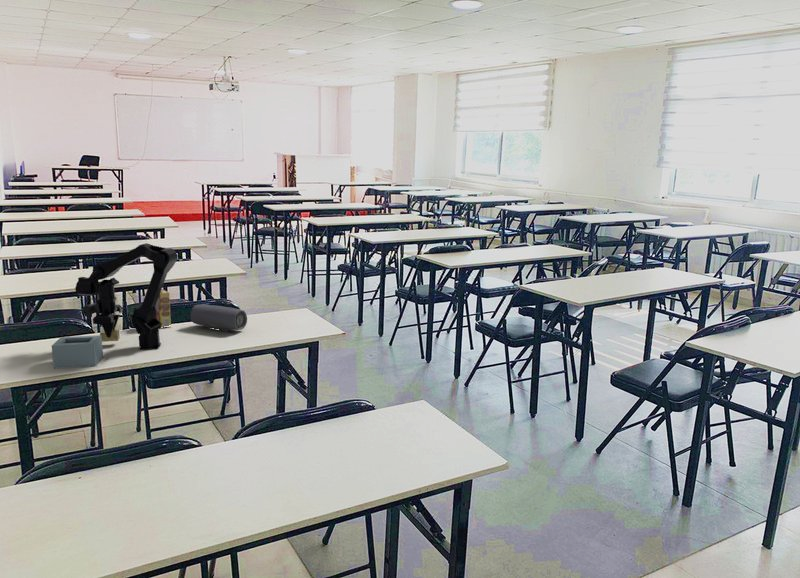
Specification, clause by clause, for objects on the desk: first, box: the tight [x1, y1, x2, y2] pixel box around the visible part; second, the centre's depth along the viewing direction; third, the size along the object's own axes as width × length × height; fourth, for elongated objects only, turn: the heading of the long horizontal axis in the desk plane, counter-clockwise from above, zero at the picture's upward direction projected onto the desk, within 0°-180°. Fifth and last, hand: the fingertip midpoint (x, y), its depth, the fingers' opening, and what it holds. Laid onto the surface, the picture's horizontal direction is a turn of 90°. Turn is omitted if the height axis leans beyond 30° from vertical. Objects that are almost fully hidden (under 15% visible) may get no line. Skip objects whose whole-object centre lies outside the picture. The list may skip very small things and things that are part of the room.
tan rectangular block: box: [99, 328, 121, 343], centre depth 229 cm, size 6×4×4 cm, turn 104°
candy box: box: [155, 288, 172, 327], centre depth 255 cm, size 9×4×15 cm, turn 39°
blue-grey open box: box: [51, 334, 104, 369], centre depth 209 cm, size 13×10×8 cm
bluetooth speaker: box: [189, 304, 248, 332], centre depth 251 cm, size 23×9×10 cm, turn 68°
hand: (110, 335), depth 229 cm, fingers closed on tan rectangular block, 3 cm apart
